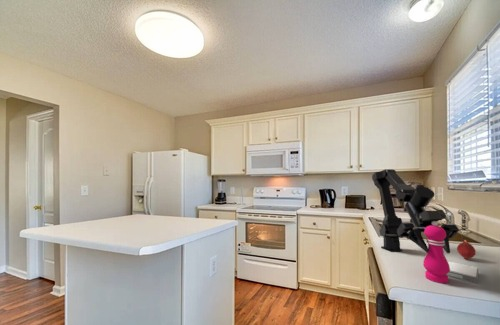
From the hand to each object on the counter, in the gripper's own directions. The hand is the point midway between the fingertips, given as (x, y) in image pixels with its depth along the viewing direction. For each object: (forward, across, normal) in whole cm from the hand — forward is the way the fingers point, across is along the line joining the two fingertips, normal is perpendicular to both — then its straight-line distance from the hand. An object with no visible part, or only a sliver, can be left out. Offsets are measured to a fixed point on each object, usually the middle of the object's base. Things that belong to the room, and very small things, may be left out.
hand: (438, 252), depth 79 cm
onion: (-10, +26, +24) cm, 36 cm away
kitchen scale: (+2, +11, +12) cm, 16 cm away
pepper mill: (+6, 0, +8) cm, 10 cm away
